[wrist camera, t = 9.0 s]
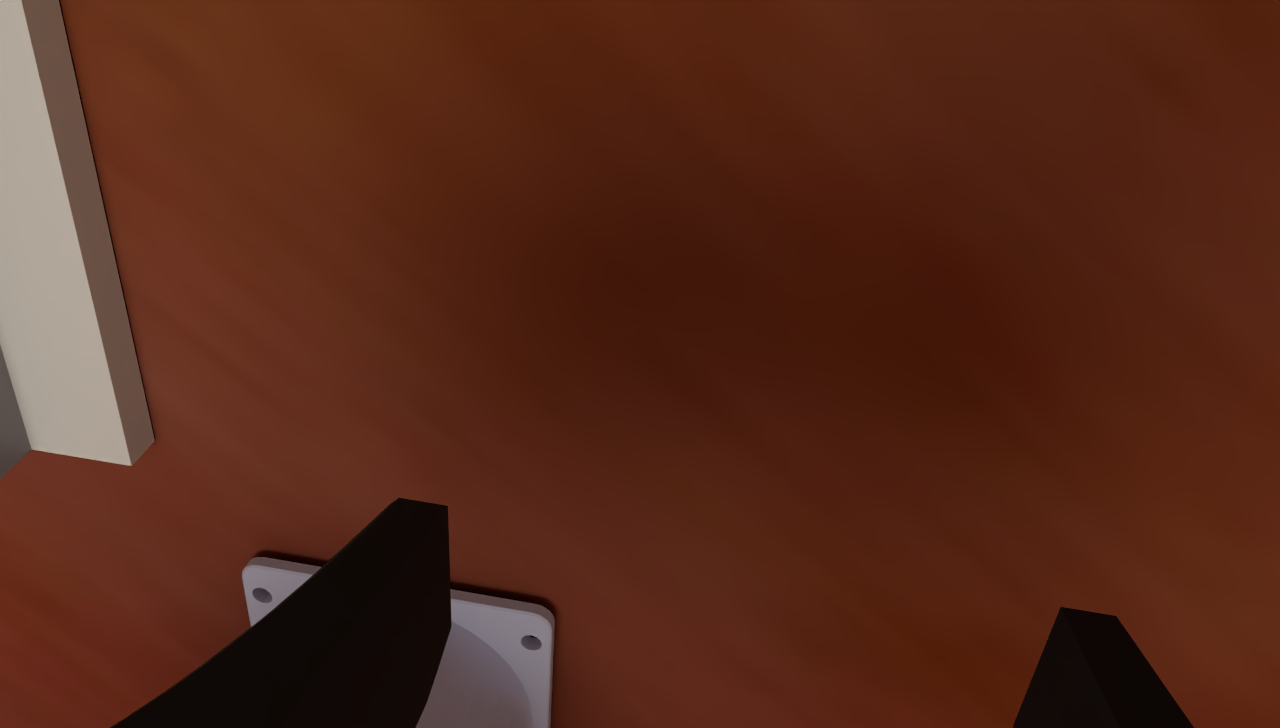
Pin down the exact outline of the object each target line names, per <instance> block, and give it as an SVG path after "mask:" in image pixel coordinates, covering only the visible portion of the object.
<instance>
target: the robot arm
mask: <svg viewBox="0 0 1280 728" xmlns="http://www.w3.org/2000/svg"><path fill="white" fill-rule="evenodd" d="M242 580H243V586H244V591H245V597H246V602H247V608H248V614H249V619H250V625H251V628H249V629H248V630H247V631H245V632H244V633H243V634H242V635H240V636H239V637H238V638H236V639H235V640H234V641H233V642H231V643H230V644H229V645H227V646H226V647H225V648H224V649H222V650H221V651H220V652H218V653H217V654H216V655H215V656H213V657H212V658H211V659H209V660H208V661H207V662H206V663H204V664H203V665H201V666H200V667H199V668H197V669H196V670H195V671H193V672H192V673H190V674H189V675H188V676H186V677H185V678H184V679H182V680H181V681H179V682H178V683H177V684H175V685H174V686H172V687H171V688H169V689H168V690H166V691H165V692H164V693H162V694H161V695H159V696H158V697H156V698H155V699H153V700H152V701H150V702H149V703H147V704H146V705H144V706H143V707H141V708H140V709H138V710H137V711H135V712H134V713H132V714H131V715H129V716H128V717H126V718H125V719H123V720H121V721H120V722H118V723H117V724H115V725H113V726H112V727H110V728H550V726H551V701H552V677H553V653H554V629H555V620H554V616H553V615H552V613H551V612H550V611H549V610H548V609H546V608H545V607H543V606H541V605H538V604H533V603H528V602H522V601H516V600H510V599H504V598H499V597H493V596H487V595H481V594H475V593H470V592H464V591H458V590H452V589H450V561H449V531H448V506H445V505H439V504H433V503H427V502H421V501H415V500H409V499H403V498H398V499H397V500H395V501H394V502H392V503H391V504H390V505H389V506H388V507H386V508H385V509H384V510H383V511H382V512H381V513H380V514H379V515H378V516H377V517H376V518H375V519H374V520H373V521H372V522H370V523H369V524H368V525H367V526H366V527H365V528H364V529H363V530H362V531H361V532H360V533H359V534H358V535H357V536H355V537H354V538H353V539H352V540H351V541H350V542H349V543H348V544H347V545H346V546H345V547H344V548H342V549H341V550H340V551H339V552H338V553H337V554H336V555H335V556H334V557H333V558H331V559H330V560H329V561H328V562H327V563H326V564H325V565H324V566H323V567H319V566H313V565H307V564H301V563H296V562H290V561H284V560H278V559H272V558H267V557H255V558H253V559H251V560H250V561H249V562H248V564H247V565H246V567H245V568H244V570H243V571H242ZM266 590H267V591H266ZM529 635H532V636H535V637H537V638H538V639H535V638H532V637H530V636H529ZM1013 728H1194V727H1193V725H1192V724H1191V723H1190V721H1189V720H1188V718H1187V717H1186V716H1185V714H1184V713H1183V711H1182V710H1181V708H1180V707H1179V706H1178V704H1177V703H1176V701H1175V700H1174V698H1173V697H1172V696H1171V694H1170V693H1169V691H1168V690H1167V688H1166V687H1165V686H1164V684H1163V683H1162V681H1161V680H1160V678H1159V677H1158V675H1157V674H1156V673H1155V671H1154V670H1153V668H1152V667H1151V665H1150V664H1149V662H1148V661H1147V659H1146V658H1145V657H1144V655H1143V654H1142V652H1141V651H1140V649H1139V648H1138V647H1137V645H1136V644H1135V642H1134V641H1133V639H1132V638H1131V636H1130V635H1129V634H1128V632H1127V631H1126V629H1125V628H1124V627H1123V625H1122V624H1121V622H1120V621H1119V619H1118V618H1117V617H1116V616H1112V615H1106V614H1100V613H1094V612H1088V611H1082V610H1076V609H1070V608H1064V607H1061V608H1060V610H1059V613H1058V615H1057V618H1056V620H1055V623H1054V625H1053V628H1052V630H1051V633H1050V635H1049V638H1048V640H1047V643H1046V645H1045V648H1044V650H1043V653H1042V655H1041V658H1040V660H1039V663H1038V665H1037V668H1036V670H1035V673H1034V675H1033V678H1032V680H1031V683H1030V685H1029V688H1028V690H1027V693H1026V695H1025V698H1024V700H1023V703H1022V705H1021V708H1020V710H1019V713H1018V715H1017V718H1016V720H1015V723H1014V725H1013Z"/></svg>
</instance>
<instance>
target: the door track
mask: <svg viewBox="0 0 1280 728" xmlns="http://www.w3.org/2000/svg"><path fill="white" fill-rule="evenodd" d="M154 441H155V440H154V435H153V430H152V426H151V421H150V417H149V412H148V408H147V403H146V398H145V394H144V389H143V385H142V380H141V375H140V371H139V366H138V362H137V357H136V353H135V348H134V343H133V339H132V334H131V330H130V325H129V320H128V316H127V311H126V307H125V302H124V298H123V293H122V288H121V284H120V279H119V275H118V270H117V265H116V261H115V256H114V252H113V247H112V243H111V238H110V233H109V229H108V224H107V220H106V215H105V210H104V206H103V201H102V197H101V192H100V187H99V183H98V178H97V174H96V169H95V165H94V160H93V155H92V151H91V146H90V142H89V137H88V132H87V128H86V123H85V119H84V114H83V110H82V105H81V100H80V96H79V91H78V87H77V82H76V77H75V73H74V68H73V64H72V59H71V55H70V50H69V45H68V41H67V36H66V32H65V27H64V22H63V18H62V13H61V9H60V4H59V0H0V478H1V477H3V476H4V475H5V474H6V473H7V472H8V471H9V470H10V469H11V468H12V467H13V466H14V465H15V464H16V463H17V462H19V461H20V460H21V459H22V458H23V457H24V456H25V455H26V454H27V453H28V452H29V451H30V450H31V449H32V450H38V451H44V452H50V453H56V454H62V455H68V456H74V457H80V458H86V459H93V460H99V461H105V462H111V463H117V464H123V465H129V466H132V465H133V464H134V463H135V462H136V461H137V460H138V458H139V457H140V456H141V455H142V454H143V453H144V452H145V451H146V450H147V449H148V448H149V446H150V445H151V444H152V443H153V442H154Z"/></svg>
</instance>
